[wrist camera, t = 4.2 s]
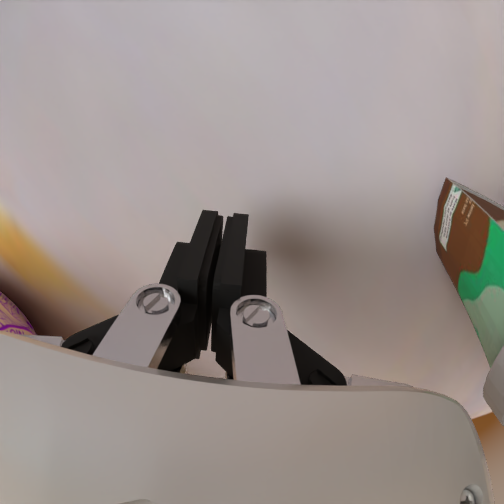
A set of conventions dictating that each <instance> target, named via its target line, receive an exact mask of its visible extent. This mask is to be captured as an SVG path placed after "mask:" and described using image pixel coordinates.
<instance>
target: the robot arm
mask: <svg viewBox="0 0 504 504" xmlns="http://www.w3.org/2000/svg"><path fill="white" fill-rule="evenodd" d="M248 216H249V215H247V214H238V213H234V215H233V217H229V216H228V217H227V221H226V225H225V230H224V234H223V239H222V229H223V216H220V215H218V211H208V210H203V211H202V213H201V216H200V218H199V221H198V223H197V226H196V228H195V231H194V234H193V236H192V239H191V241H190V243H183V242H177V243H176V245H175V247H174V249H173V252H172V254H171V256H170V259H169V261H168V263H167V266H166V268H165V270H164V273H163V275H162V277H161V280H160V282H159V284H150V285H146V286H143V287H142V288H140V289H138V290H137V291H136V292H135V293H134V294H133V295H132V297H131V298H130V300H129V301H128V303H127V304H126V306H125V307H124V308H123V310H122V311H121V313H120V314H119V315H117V316H114V317H112V318H110V319H108V320H105V321H103V322H101V323H99V324H96V325H94V326H92V327H89V328H87V329H85V330H83V331H80V332H78V333H76V334H74V335H72V336H70V337H69V338H67V339H66V340H63V338H62V337H56V336H37V335H22V334H14V333H11V332H6V331H1V330H0V504H495V501H494V495H493V489H492V484H491V478H490V474H489V470H488V466H487V462H486V459H485V455H484V452H483V448H482V445H481V442H480V439H479V437H478V434H477V431H476V429H475V427H474V424H473V422H472V420H471V418H470V416H469V415H468V413H467V411H466V410H465V409H464V408H463V406H462V405H461V404H460V403H458V402H457V401H456V400H454V399H452V398H450V397H448V396H445V395H443V394H440V393H437V392H433V391H430V390H426V389H420V388H414V387H413V386H410V385H407V384H403V383H397V382H391V381H385V380H379V379H373V378H368V377H363V376H358V375H353V374H352V376H351V377H345V376H343V374H342V373H341V372H340V371H339V370H338V369H337V368H336V367H334V366H333V365H332V364H330V363H329V362H328V361H327V360H325V359H324V358H323V357H321V356H320V355H319V354H317V353H316V352H315V351H313V350H312V349H311V348H310V347H308V346H307V345H306V344H304V343H303V342H302V341H301V340H299V339H298V338H297V337H295V336H294V335H293V334H292V333H290V332H289V331H288V330H287V329H286V325H285V321H284V317H283V313H282V311H281V308H280V306H279V305H278V304H277V303H276V302H274V301H273V300H271V299H269V298H267V297H266V251H258V250H248V249H245V246H246V236H247V226H248ZM211 323H212V335H211V351H213V352H216V362H217V363H218V364H219V365H220V366H221V367H222V368H223V369H224V370H225V371H226V373H225V379H221V378H213V377H205V376H197V375H190V374H184V373H185V369H186V363H188V362H190V361H191V360H193V359H199V357H200V352H201V350H205V351H206V350H207V346H208V340H209V334H210V329H211Z"/></svg>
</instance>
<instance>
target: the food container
mask: <svg viewBox="0 0 504 504" xmlns="http://www.w3.org/2000/svg"><path fill="white" fill-rule="evenodd" d="M434 233H435V241H436V251H437V253H438V255H439V257H440V259H441V261H442V263H443V265H444V267H445V269H446V271H447V273H448V274H449V276H450V278H451V280H452V282H453V284H454V286H455V288H456V290H457V292H458V294H459V296H460V298H461V300H462V302H463V304H464V306H465V308H466V310H467V312H468V315H469V317H470V319H471V321H472V323H473V326H474V328H475V330H476V333H477V335H478V337H479V340H480V342H481V345H482V347H483V350H484V352H485V355H486V357H487V360H488V363H489V365H490V368H491V369H490V371H489V373H488V375H487V378H486V381H485V385H484V388H483V397H484V399H485V401H486V402H487V404H488V405H489V407H490V408H491V409H492V411H493V412H494V414H495V415H496V417H497V418H498V420H499V421H500V423H501V424H502V425H503V426H504V207H503V206H501V205H499V204H498V203H496V202H494V201H492V200H490V199H488V198H487V197H485V196H483V195H481V194H479V193H477V192H475V191H473V190H471V189H469V188H467V187H465V186H463V185H461V184H459V183H457V182H455V181H453V180H450V179H448V178H446V179H445V182H444V185H443V187H442V190H441V193H440V196H439V199H438V204H437V211H436V218H435V224H434Z"/></svg>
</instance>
